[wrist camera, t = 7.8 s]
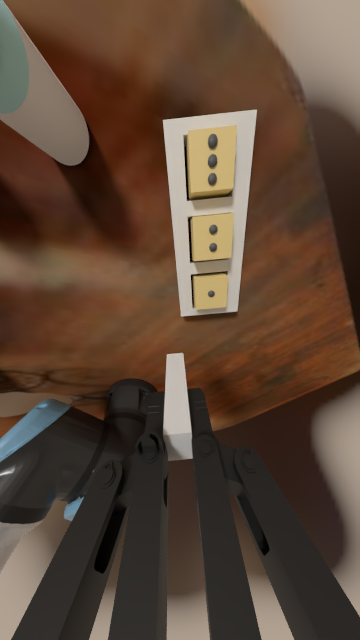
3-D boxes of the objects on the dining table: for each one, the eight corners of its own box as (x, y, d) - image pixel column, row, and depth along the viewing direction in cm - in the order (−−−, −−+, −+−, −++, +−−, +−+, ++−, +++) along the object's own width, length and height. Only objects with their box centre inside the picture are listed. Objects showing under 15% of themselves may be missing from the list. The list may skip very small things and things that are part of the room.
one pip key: (222, 301, 32) (227, 307, 28) (193, 303, 32) (195, 310, 29) (223, 272, 29) (229, 275, 26) (192, 275, 29) (194, 279, 26)
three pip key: (226, 195, 24) (235, 187, 20) (188, 199, 24) (191, 192, 21) (229, 143, 21) (239, 123, 18) (186, 147, 21) (188, 129, 18)
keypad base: (233, 307, 33) (237, 311, 31) (180, 311, 34) (181, 316, 31) (248, 124, 21) (256, 109, 19) (164, 133, 21) (162, 120, 19)
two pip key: (225, 256, 27) (232, 257, 24) (192, 259, 27) (194, 261, 24) (227, 217, 24) (236, 212, 21) (190, 220, 24) (192, 216, 21)
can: (96, 117, 20) (5, -29, 9) (86, 178, 23) (8, 118, 12) (39, 80, 19) (-144, -144, 8) (37, 150, 21) (-102, 53, 11)
